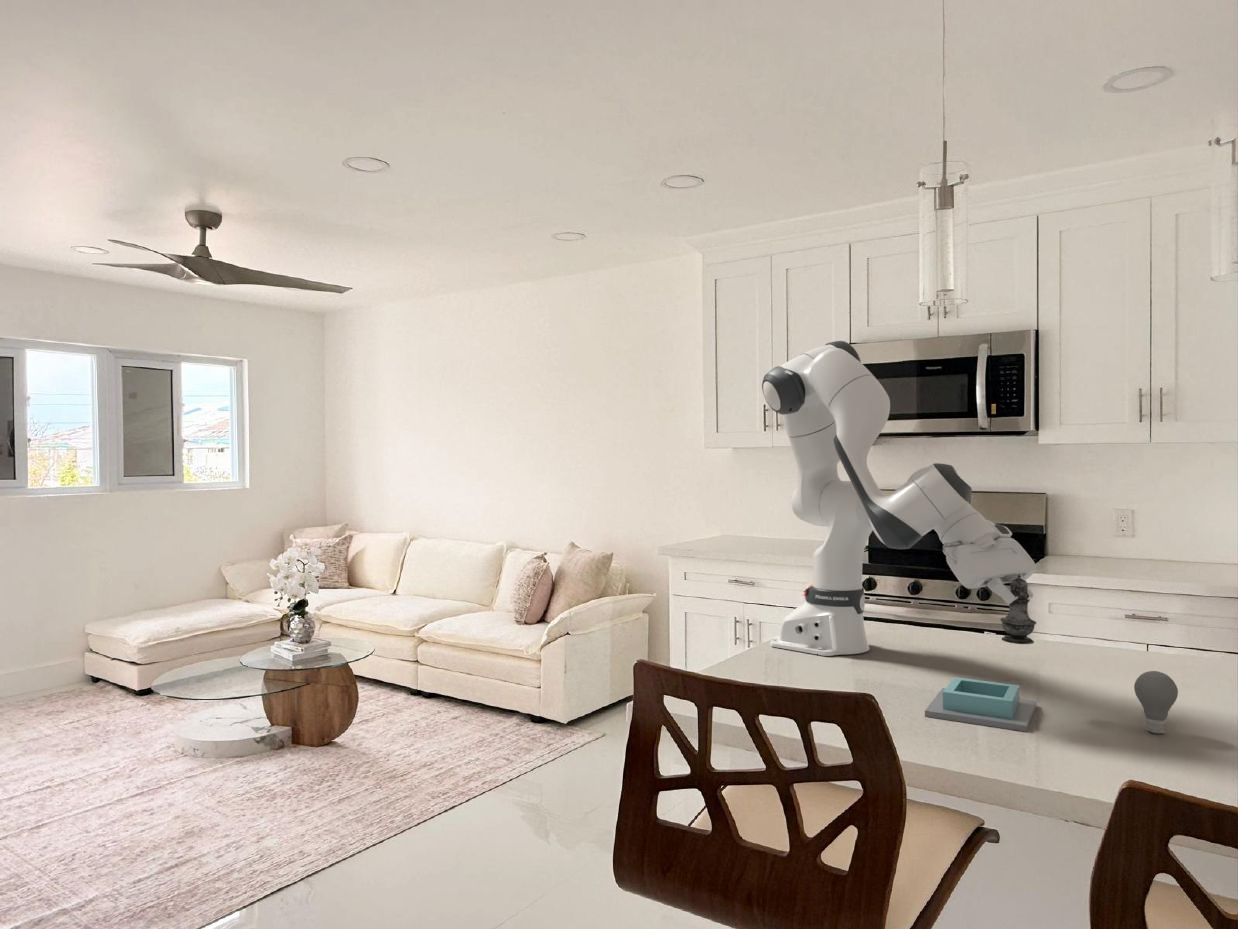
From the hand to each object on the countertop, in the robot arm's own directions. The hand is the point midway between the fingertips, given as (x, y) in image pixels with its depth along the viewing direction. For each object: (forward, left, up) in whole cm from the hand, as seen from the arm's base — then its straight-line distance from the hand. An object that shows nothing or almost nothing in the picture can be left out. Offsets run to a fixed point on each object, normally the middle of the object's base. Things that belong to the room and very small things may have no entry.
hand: (1021, 600), depth 151 cm
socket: (-6, -5, -19) cm, 21 cm away
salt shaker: (-1, 0, -8) cm, 8 cm away
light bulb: (+20, -3, -20) cm, 28 cm away
